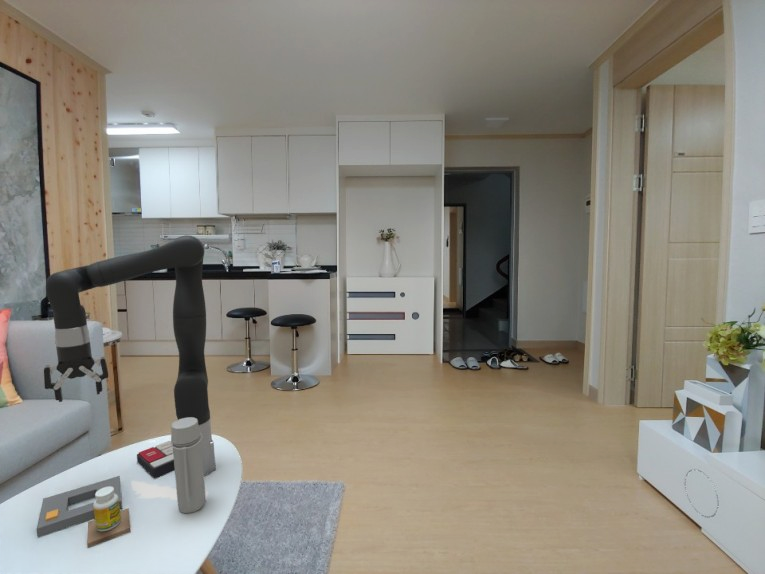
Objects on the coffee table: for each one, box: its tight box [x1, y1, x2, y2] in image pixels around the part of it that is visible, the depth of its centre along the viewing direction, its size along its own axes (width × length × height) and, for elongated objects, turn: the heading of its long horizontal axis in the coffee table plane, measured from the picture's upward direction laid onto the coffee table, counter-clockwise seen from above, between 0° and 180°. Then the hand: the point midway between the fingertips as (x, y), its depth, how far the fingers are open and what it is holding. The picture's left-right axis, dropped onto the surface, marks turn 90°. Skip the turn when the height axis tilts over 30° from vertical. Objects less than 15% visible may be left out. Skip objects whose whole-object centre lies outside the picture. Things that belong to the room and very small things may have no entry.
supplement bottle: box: [93, 486, 121, 532], centre depth 103 cm, size 5×5×10 cm
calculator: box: [136, 440, 175, 480], centre depth 133 cm, size 11×4×15 cm
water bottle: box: [170, 417, 207, 514], centre depth 109 cm, size 9×8×25 cm
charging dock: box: [36, 475, 123, 538], centre depth 111 cm, size 18×14×3 cm
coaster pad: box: [86, 507, 132, 549], centre depth 104 cm, size 9×9×1 cm
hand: (80, 397), depth 113 cm, fingers open, 8 cm apart
